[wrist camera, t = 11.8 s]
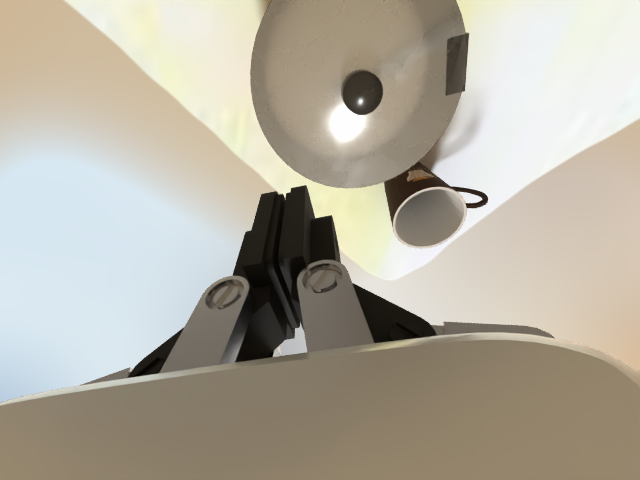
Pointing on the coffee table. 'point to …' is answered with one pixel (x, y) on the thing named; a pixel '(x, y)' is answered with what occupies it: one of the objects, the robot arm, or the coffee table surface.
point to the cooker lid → (357, 84)
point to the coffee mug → (426, 207)
